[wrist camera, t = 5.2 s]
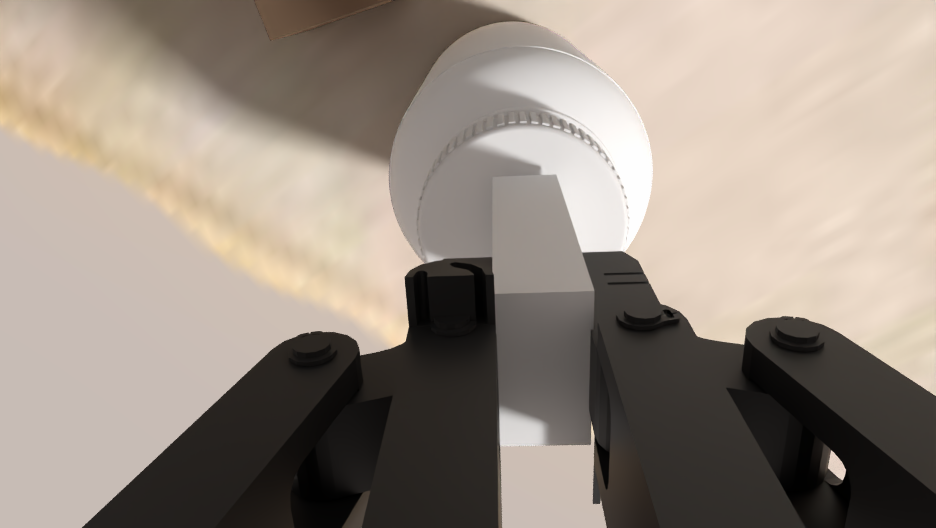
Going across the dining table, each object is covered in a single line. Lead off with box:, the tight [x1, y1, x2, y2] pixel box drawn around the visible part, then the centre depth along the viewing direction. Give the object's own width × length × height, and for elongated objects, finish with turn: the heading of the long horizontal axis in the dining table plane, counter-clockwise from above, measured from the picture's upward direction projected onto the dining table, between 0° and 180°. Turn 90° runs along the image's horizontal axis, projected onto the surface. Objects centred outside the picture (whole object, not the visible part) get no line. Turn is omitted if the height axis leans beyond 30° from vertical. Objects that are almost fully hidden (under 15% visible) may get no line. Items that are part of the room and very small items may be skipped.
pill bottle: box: [389, 22, 653, 264], centre depth 24 cm, size 8×8×15 cm
